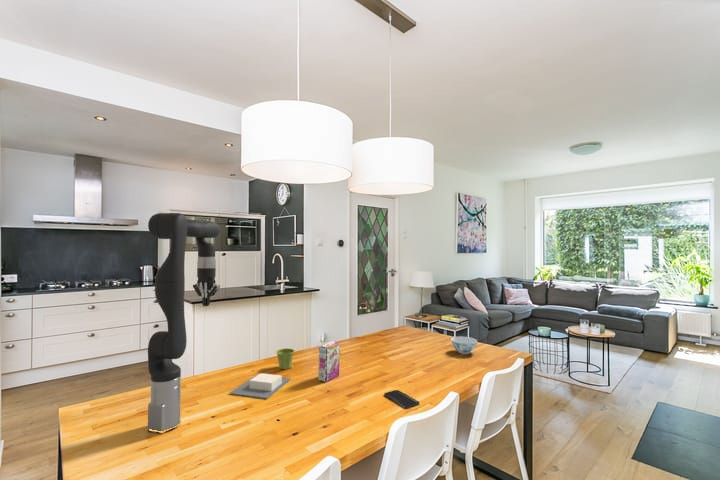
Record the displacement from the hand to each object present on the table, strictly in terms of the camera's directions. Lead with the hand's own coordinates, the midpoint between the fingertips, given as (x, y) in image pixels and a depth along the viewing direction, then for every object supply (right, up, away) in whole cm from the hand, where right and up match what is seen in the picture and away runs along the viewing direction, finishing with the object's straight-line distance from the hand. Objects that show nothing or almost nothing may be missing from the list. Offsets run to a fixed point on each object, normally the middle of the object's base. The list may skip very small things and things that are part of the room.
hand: (206, 305), depth 154 cm
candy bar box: (+53, -38, +14) cm, 67 cm away
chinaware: (+131, -39, +55) cm, 147 cm away
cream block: (+21, -35, +4) cm, 41 cm away
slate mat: (+24, -37, +3) cm, 44 cm away
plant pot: (+29, -38, +28) cm, 55 cm away
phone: (+86, -38, -9) cm, 94 cm away
